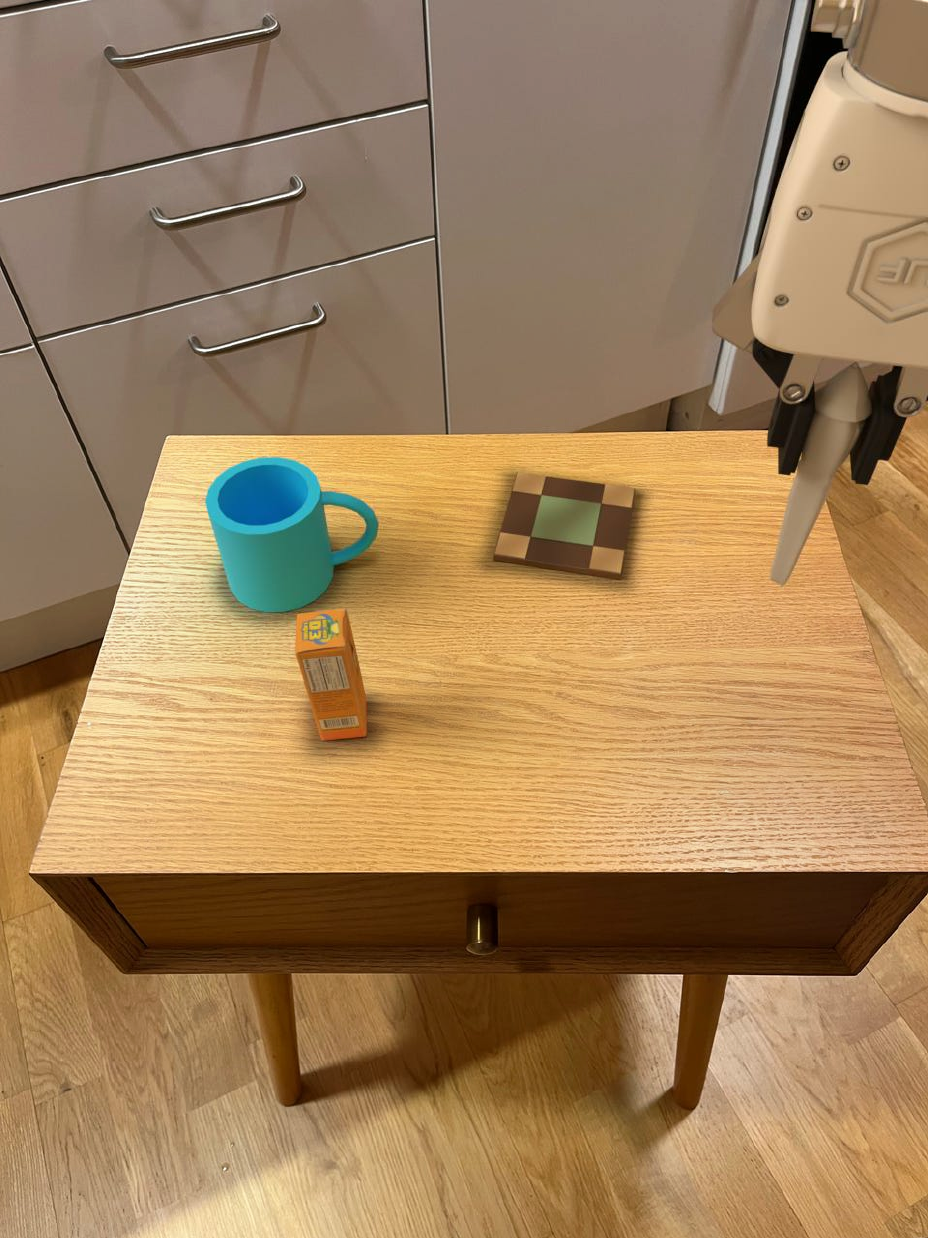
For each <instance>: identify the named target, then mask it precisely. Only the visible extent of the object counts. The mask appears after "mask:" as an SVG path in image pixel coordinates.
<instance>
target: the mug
mask: <svg viewBox="0 0 928 1238" xmlns="http://www.w3.org/2000/svg"><path fill="white" fill-rule="evenodd" d="M204 503H205V508H206V511H207V515H208V518H209V522H210V524H211V528H212V532H213V535H214V538H215V542H216V545H217V548H218V549H217V550H218V552H219V556H220V559H221V562H222V566H223V569H224V573H225V576H226V579H227V582H228V585H229V590H230V592H231V593H232V595H233V596H234V597H235V598H236V600H237V601H238V602H240V603H241V604H243V605H244V606H246V607H248V608H249V609H252V610H256V611H259V612H264V613H285V612H286V613H287V612H289V611H294V610H298V609H301V608H303V607H305V606H307V605H309V604H311V603H313V602H315V601H316V600H317V599H319V598H320V596H321V595H323V594H324V593H325V592H326V591H327V590H328V588H329V586H330V584H331V582H332V581H333V579H334V571H335V566H337V565H340V564H344V563H346V562H348V561H352V560H353V559H355V558H357V557H359V556H361V554H363V553H364V552H365V551H367V550H369V549H370V547H371V546H372V544H373V543H374V541H375V540H376V539H377V537H378V532H379V525H380V523H379V520H378V517H377V515H376V513H375V510H374V509H373V508H372V507H370V505H368V503H366V502H365V501H364V500H362V499H361V498H357V497H356V496H353V495H351V494H348V493H342V492H337V491H331V490H324V491H323V490H322V487H321V485H320V482H319V478H318V476H317V474H315V473H314V472H313V471H312V470H311V468H309V466H306V465H305V464H303V463H301V462H299V461H297V460H294V459H291V458H285V457H281V456H271V457H270V456H268V457H267V456H265V457H258V458H252V459H248V460H243V461H242V462H240V463H237V464H235V465H233V466H231V467H229V468H227V469H226V470H224V471H223V472H222V473H220V474H219V475H218V476H216V478H215V479H214V481H213V482H212V483H211V485H210V486H209V487H208V488H207V491H206V496H205V500H204ZM325 506H335V507H340V508H344V509H348V510H350V511H352V512H355V513H357V514H358V516H360V517H361V518H362V519H363V521H364V523H365V531H364V532H363V533H362V535H361V536H360V538H359V539H357V540H356V541H354V542H352V544H350V545H348V546H346V547H344V548H342V549H339V550H335V551H332V547H331V540H330V535H329V527H328V522H327V516H326V510H325Z"/></svg>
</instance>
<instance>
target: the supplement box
mask: <svg viewBox="0 0 928 1238" xmlns="http://www.w3.org/2000/svg"><path fill="white" fill-rule="evenodd" d="M295 625H296V626H295V649H294V654H295V657H296V661H297V664H298V666H299V670H300V673H301V677H302V681H303V684H304V687H305V690H306V693H307V697H308V700H309V704H310V707H311V710H312V714H313V717H314V721H315V724H316V727H317V731H318V734H319V737H320V740H321V741H322V742H323V741H324V742H325V741H335V740H343V739H345V740H346V739H353V738H354V739H355V738H362V737H363V738H364V737H366V736H367V734H368V716H367V715H368V714H367V713H368V711H367V697H366V691H365V686H364V685H365V684H364V680H363V677H362V671H361V666H360V661H359V657H358V652H357V648H356V643H355V640H354V634H353V630H352V626H351V621H350V618H349V613H348V610H347V608H346V607H339V608H334V609H327V610H318V611H317V610H316V611H309V612H303V613H297V614H296V624H295Z"/></svg>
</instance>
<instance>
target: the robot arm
mask: <svg viewBox="0 0 928 1238" xmlns="http://www.w3.org/2000/svg"><path fill="white" fill-rule="evenodd" d="M813 7H814V8H813V14H812V18H811V25H810V32H816V33H817V32H819V33H831V37H832V38H834V39H842V46H843V47H842V48H843V49H847V51H840V52H837V53H836V54H834V55H833V56H831V57H830V58H829V59H828V60H827V62H826V64H825V66H824V68H823V70H822V72H821V74H820V76H819V78H818V80H817V82H816V84H815V86H814V89H813V91H812V93H811V96H810V98H809V100H808V103H807V105H806V108H805V109H804V111H803V114H802V117H801V119H800V122H799V125H798V127H797V130H796V132H795V135H794V138H793V140H792V143H791V146H790V148H789V151H788V154H787V157H786V160H785V163H784V166H783V169H782V172H781V176H780V178H779V181H778V185H777V188H776V189H775V193H774V194H775V195H774V197H773V200H772V204H771V207H770V210H769V213H768V216H767V220H766V223H765V226H764V229H763V234H762V237H761V242H760V246H759V249H758V252H757V254H756V255H755V257H754V258H753V259H752V260H751V262H750V263H749V264H748V265H747V266H746V268H745V269H744V270H743V271H742V273H741V274H740V275H739V276H738V277H737V279H736V280H735V281H734V283H733V284H732V285H731V286H730V287H729V289H728V290H727V291H726V292H724V294H723V295H722V297H721V298H720V299H719V300H718V302H717V303H716V304H715V305H714V307H713V308H712V321H711V330H712V333H714V334H715V335H716V336H717V337H720V338H721V339H722V340H724V341H726V342H727V343H729V344H731V345H733V346H734V347H736V348H737V349H739V350H741V351H743V352H745V351H746V352H747V353H749V354H751V355H752V358H753V359H754V361H755V362H756V363H757V364H758V366H759V367H760V369H762V371H763V372H764V373H765V374H766V375H767V377H768V378H769V379H770V380H771V382H772V383H773V384H774V385H775V386H776V387H777V389H778V392H777V396H776V399H775V403H774V406H773V409H772V412H771V416H770V420H769V423H768V429H767V435H766V439H767V440H766V443H767V444H766V446H767V448H768V447H769V448H777V470H778V472H777V474H778V475H782V476H791V474H795V473H796V472H797V466H798V463H799V461H800V459H801V455H802V450H803V447H804V444H805V441H806V438H807V435H808V432H809V429H810V426H811V423H812V420H813V417H814V414H815V391H816V390H815V389H816V388H815V387H816V386H815V379H816V376H817V375H818V373H819V370H820V368H821V365H822V362H823V360H824V359H830V360H831V359H832V360H841V361H849V362H857V363H867V364H875V365H886V366H889V368H888V372H887V373H885V374H883V375H881V374H878V375H877V377H876V380H872V381H871V382H870V385H869V387H868V395H869V398H870V400H871V403H872V413H871V415H869V416H868V417H867V418H866V419H865V425H864V427H863V430H862V432H861V434H860V436H859V438H858V440H857V442H856V444H855V446H854V447H853V449H852V451H851V452H850V454H849V464H850V465H849V466H850V476H851V481H854V483H855V485H861V486H863V485H864V486H868V485H869V484H870V482H871V479H872V477H873V474H874V473H875V470H876V467H877V466H878V465H877V464H878V463H879V461H884V462H889V461H890V459H891V457H892V455H893V453H894V450H895V448H896V445H897V443H898V440H899V438H900V436H901V434H902V431H903V429H904V426H905V423H906V422H907V419H908V418H912V417H914V416H917V415H919V414H920V413H921V412H922V411H923V410H924V407H925V405H926V402H928V0H815V3H814V6H813Z"/></svg>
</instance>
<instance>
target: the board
mask: <svg viewBox="0 0 928 1238" xmlns="http://www.w3.org/2000/svg"><path fill="white" fill-rule="evenodd" d="M515 474H516V475H515V478H514V481H513V484H512V488H511V491H510V494H509V498H508V502H507V505H506V508H505V512H504V515H503V520H502V523H501V526H500V530H499V533H498V537H497V540H496V543H495V547H494V551H493V554H492V561H497V562H503V563H509V564H516V565H522V566H529V567H535V568H542V569H547V570H548V569H549V570H555V571H560V572H561V571H562V572H569V573H574V574H581V575H588V576H595V577H601V578H608V579H613V580H621V579H622V574H623V571H624V570H623V569H624V563H625V557H626V550H627V545H628V538H629V533H630V526H631V521H632V520H631V519H632V515H633V508H634V502H635V497H636V496H635V495H636V488H635V487H630V486H625V485H618V484H617V485H616V484H609V483H598V482H592V481H584V480H578V479H569V478H564V477H556V476H550V475H549V476H548V475H545V474H544V475H543V474H536V473H529V472H523V471H517V472H516V473H515Z"/></svg>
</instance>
